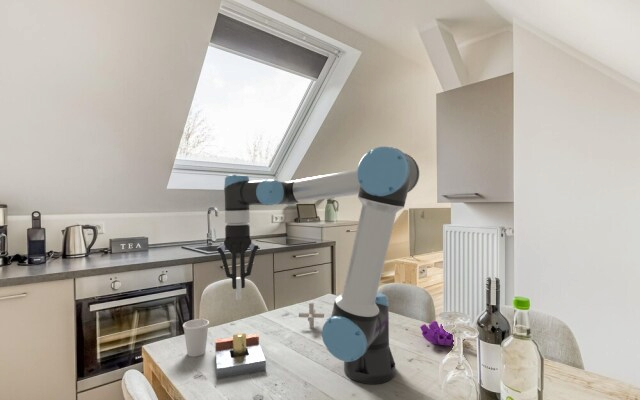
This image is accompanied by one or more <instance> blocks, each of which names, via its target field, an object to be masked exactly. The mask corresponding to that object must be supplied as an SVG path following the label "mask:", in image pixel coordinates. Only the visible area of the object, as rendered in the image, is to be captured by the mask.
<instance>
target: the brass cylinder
mask: <svg viewBox="0 0 640 400" xmlns="http://www.w3.org/2000/svg"><path fill="white" fill-rule="evenodd" d="M246 335H247V334H246V333H244V332H238V333H235V334H233V336H232V337H233V358H235V357H241V356H246Z"/></svg>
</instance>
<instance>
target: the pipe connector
mask: <svg viewBox="0 0 640 400" xmlns="http://www.w3.org/2000/svg"><path fill="white" fill-rule="evenodd" d="M314 304H315V303H314V301H309V302H308V311H309V312H299V313H298V318H307V321H308V323H309V325H308V326H309V329H314V328H315V318H318V319H325V312H316V309H315V308H314V307H315V305H314Z"/></svg>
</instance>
